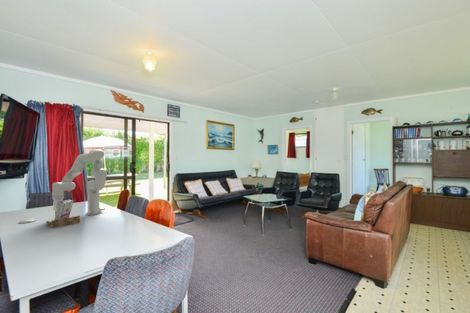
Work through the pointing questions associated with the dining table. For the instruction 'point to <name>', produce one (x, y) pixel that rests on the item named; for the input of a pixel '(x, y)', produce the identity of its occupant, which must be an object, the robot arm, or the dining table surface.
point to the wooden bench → (63, 221)
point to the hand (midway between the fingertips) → (57, 219)
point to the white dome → (27, 220)
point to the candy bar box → (64, 209)
